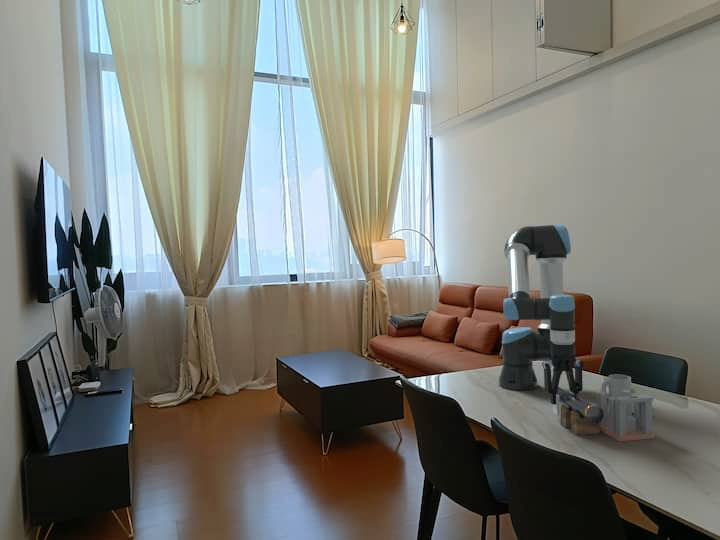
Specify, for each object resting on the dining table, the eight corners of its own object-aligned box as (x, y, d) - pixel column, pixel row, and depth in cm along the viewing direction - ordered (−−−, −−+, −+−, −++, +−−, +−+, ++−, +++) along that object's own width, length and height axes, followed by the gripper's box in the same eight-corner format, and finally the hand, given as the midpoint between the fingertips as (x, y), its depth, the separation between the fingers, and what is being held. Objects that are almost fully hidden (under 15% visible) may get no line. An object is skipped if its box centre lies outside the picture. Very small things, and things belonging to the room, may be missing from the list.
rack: (560, 424, 159) (560, 404, 158) (582, 422, 160) (582, 403, 159) (576, 435, 150) (576, 414, 150) (599, 433, 151) (599, 412, 150)
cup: (635, 404, 175) (634, 379, 175) (605, 404, 176) (605, 379, 176) (626, 398, 183) (625, 374, 182) (597, 398, 184) (597, 374, 183)
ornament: (646, 416, 164) (646, 385, 163) (622, 416, 165) (622, 386, 164) (638, 410, 170) (637, 380, 169) (615, 410, 171) (614, 381, 170)
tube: (550, 400, 167) (550, 387, 167) (563, 399, 168) (563, 386, 168) (589, 423, 145) (588, 407, 145) (604, 422, 146) (603, 406, 146)
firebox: (582, 419, 163) (581, 382, 162) (613, 416, 164) (613, 380, 164) (619, 441, 144) (619, 400, 144) (654, 438, 145) (654, 397, 145)
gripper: (542, 346, 158) (544, 419, 159) (594, 343, 160) (595, 414, 161) (531, 342, 165) (533, 411, 166) (581, 338, 167) (582, 407, 168)
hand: (563, 413), depth 164 cm, fingers closed on tube, 4 cm apart
